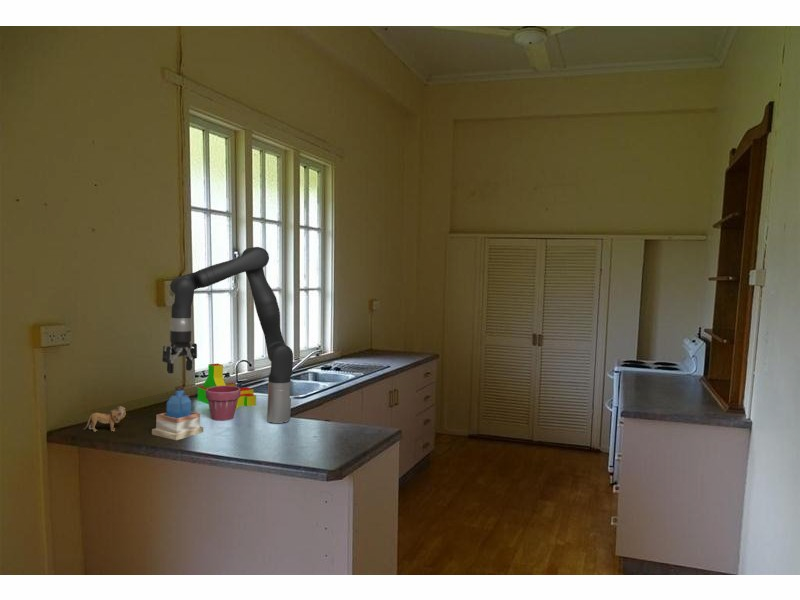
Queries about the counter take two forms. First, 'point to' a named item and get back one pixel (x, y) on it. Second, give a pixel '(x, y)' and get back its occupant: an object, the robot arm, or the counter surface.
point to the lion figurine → (107, 418)
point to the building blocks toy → (217, 380)
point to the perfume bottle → (179, 404)
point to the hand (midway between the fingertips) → (179, 371)
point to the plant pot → (222, 401)
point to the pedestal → (177, 426)
